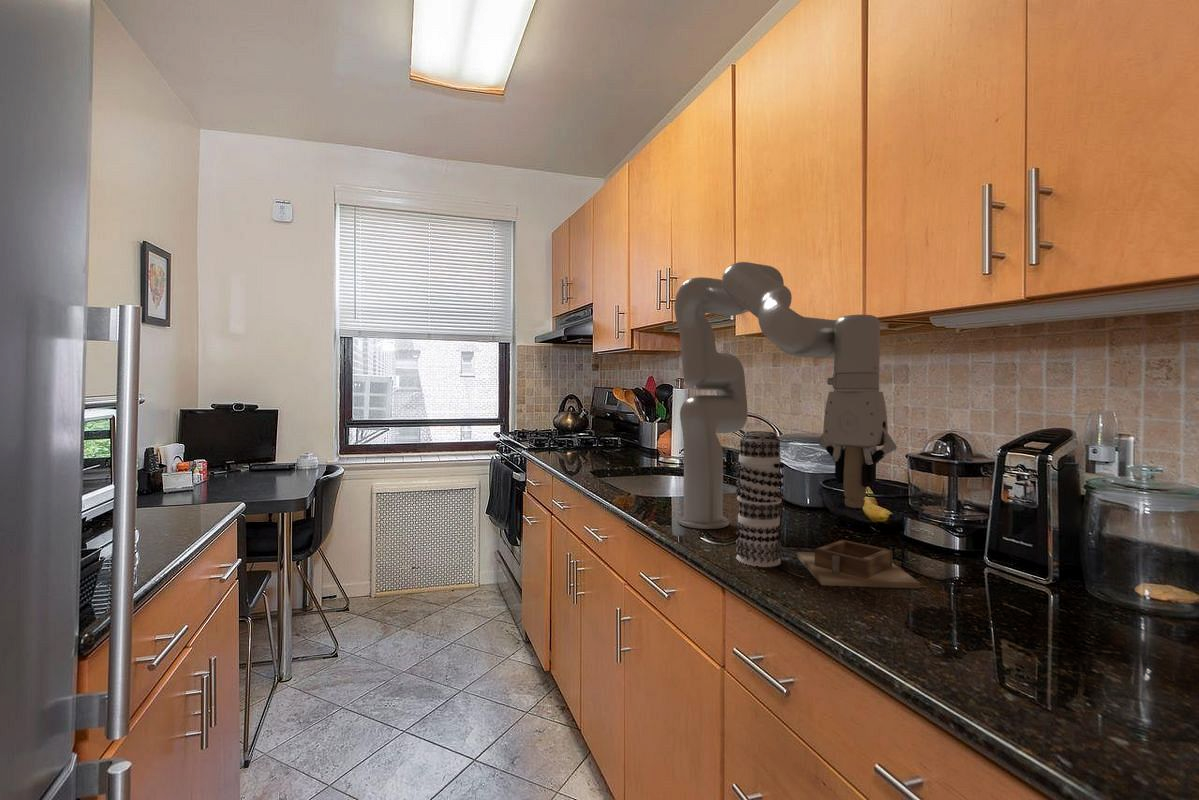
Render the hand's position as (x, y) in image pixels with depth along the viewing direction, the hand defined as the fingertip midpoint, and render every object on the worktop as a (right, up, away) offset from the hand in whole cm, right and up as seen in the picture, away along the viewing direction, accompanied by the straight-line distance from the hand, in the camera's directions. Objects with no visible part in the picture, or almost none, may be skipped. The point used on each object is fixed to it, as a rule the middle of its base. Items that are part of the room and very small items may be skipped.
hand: (855, 483), depth 102 cm
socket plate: (0, -16, 0) cm, 16 cm away
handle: (0, -4, 0) cm, 4 cm away
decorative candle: (-16, -16, +7) cm, 24 cm away
